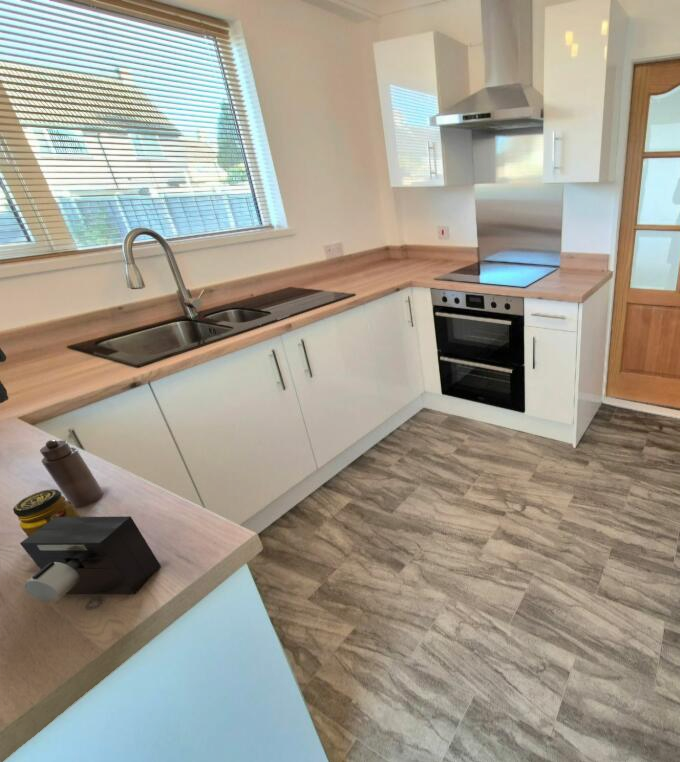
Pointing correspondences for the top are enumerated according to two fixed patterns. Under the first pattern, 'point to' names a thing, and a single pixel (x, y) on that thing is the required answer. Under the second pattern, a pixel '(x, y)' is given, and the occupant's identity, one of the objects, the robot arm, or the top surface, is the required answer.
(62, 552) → the panel
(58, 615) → the top surface
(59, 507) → the condiment
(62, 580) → the knob
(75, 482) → the pepper mill
